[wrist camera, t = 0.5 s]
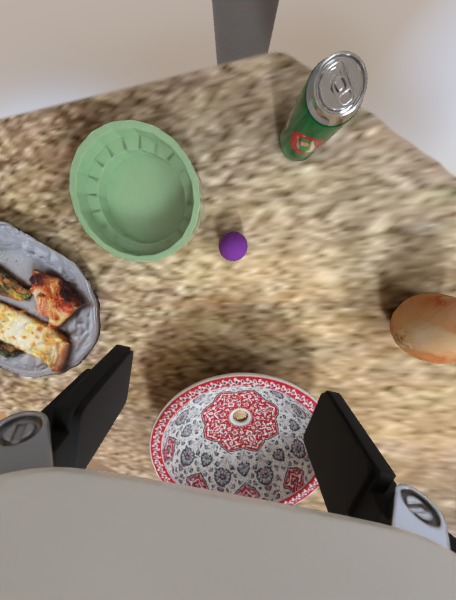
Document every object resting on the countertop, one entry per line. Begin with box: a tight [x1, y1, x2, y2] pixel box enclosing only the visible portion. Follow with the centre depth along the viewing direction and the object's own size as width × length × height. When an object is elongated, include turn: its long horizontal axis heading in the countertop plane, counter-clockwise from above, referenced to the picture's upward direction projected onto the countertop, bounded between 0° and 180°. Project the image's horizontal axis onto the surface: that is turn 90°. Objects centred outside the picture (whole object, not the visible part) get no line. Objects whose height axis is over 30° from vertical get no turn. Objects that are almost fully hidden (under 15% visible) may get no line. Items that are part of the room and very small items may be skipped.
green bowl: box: [69, 120, 204, 262], centre depth 30 cm, size 16×16×5 cm
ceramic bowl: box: [150, 373, 319, 505], centre depth 39 cm, size 29×29×8 cm
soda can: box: [280, 51, 368, 161], centre depth 24 cm, size 5×5×12 cm
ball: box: [219, 232, 247, 261], centre depth 32 cm, size 4×4×4 cm
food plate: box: [0, 221, 101, 377], centre depth 35 cm, size 25×23×4 cm
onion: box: [390, 293, 456, 364], centre depth 32 cm, size 10×10×10 cm
